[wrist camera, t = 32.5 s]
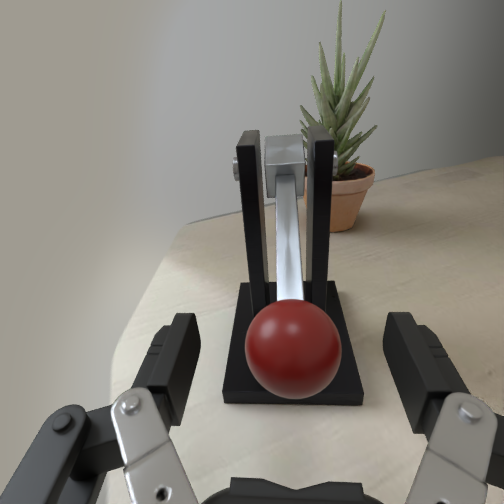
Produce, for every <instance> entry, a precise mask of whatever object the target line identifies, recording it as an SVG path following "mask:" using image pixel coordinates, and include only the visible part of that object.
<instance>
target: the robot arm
mask: <svg viewBox="0 0 504 504" xmlns="http://www.w3.org/2000/svg"><path fill="white" fill-rule="evenodd" d="M200 348H201V340H200V334H199V330H198V325H197V321H196V316H195V314H194V313H177V314H176V315H175V317H174V319H173V322H172V324H171V325H168V326H163V327H162V328H161V329H160V330H159V331H158V332H157V333H156V334H155V336H154V338H153V341H152V343H151V347H149V349H148V352H147V355H146V356H145V358H144V360H143V363H142V365H141V367H140V369H139V372H138V374H137V376H136V378H135V380H134V383H133V385H132V387H131V389H129V390H127V391H125V392H124V393H122V394H121V395H120V396H119V397H118V398H117V399H116V400H115V402H114V403H113V404H112V405H109V406H106V407H103V408H99V409H95V410H92V411H88V412H85V409H84V408H83V407H82V406H80V405H68V406H65V407H62V408H61V409H58V410H57V411H56V412H54V413H53V414H52V415H50V416H49V417H48V419H47V420H46V421H45V422H44V424H43V425H42V427H41V429H40V431H39V432H38V434H37V435H36V437H35V439H34V441H33V442H32V444H31V446H30V447H29V449H28V451H27V452H26V454H25V456H24V457H23V459H22V461H21V462H20V464H19V466H18V468H17V469H16V471H15V473H14V474H13V476H12V478H11V479H10V481H9V483H8V484H7V486H6V488H5V490H4V491H3V493H2V495H1V496H0V504H96V501H97V498H98V496H99V492H100V490H101V487H102V485H103V482H104V479H105V477H106V474H107V472H108V471H111V470H114V469H117V468H120V467H123V466H124V467H125V468H124V469H123V471H124V477H125V481H126V484H127V488H128V492H129V496H130V499H131V503H132V504H199V503H198V501H197V498H196V496H195V494H194V491H193V489H192V487H191V484H190V482H189V480H188V477H187V475H186V473H185V470H184V468H183V466H182V463H181V461H180V459H179V456H178V454H177V452H176V449H175V447H174V445H173V442H172V440H171V439H170V437H169V431H170V427H171V426H180V425H181V421H182V417H183V414H184V410H185V406H186V402H187V399H188V395H189V391H190V388H191V384H192V380H193V376H194V373H195V369H196V365H197V362H198V358H199V354H200ZM383 351H384V355H385V357H386V360H387V363H388V366H389V368H390V371H391V374H392V376H393V379H394V382H395V385H396V387H397V390H398V393H399V395H400V398H401V401H402V404H403V406H404V409H405V412H406V414H407V417H408V420H409V423H410V425H411V428H412V431H413V433H414V434H425V436H426V438H427V441H428V445H427V447H426V450H425V452H424V455H423V458H422V460H421V463H420V466H419V468H418V471H417V473H416V476H415V479H414V481H413V484H412V486H411V489H410V492H409V494H408V497H407V499H406V502H405V504H485V501H486V496H487V490H488V485H487V484H486V483H488V484H491V485H494V486H496V487H499V488H502V489H504V416H501V415H498V414H496V413H494V412H493V411H492V410H491V408H490V407H489V406H488V405H487V404H486V403H484V402H483V401H482V400H480V399H478V398H477V397H475V396H472V395H471V394H470V392H469V390H468V389H467V387H466V385H465V384H464V382H463V380H462V378H461V377H460V375H459V373H458V372H457V370H456V368H455V366H454V365H453V363H452V361H451V360H450V358H448V354H447V353H446V351H445V349H444V348H443V346H442V344H441V343H440V341H439V339H438V337H437V336H436V334H434V333H433V332H432V331H431V330H430V329H429V328H427V327H426V326H425V325H417V324H416V322H415V320H414V318H413V316H412V315H411V313H410V312H389V313H388V316H387V320H386V326H385V331H384V336H383ZM201 504H383V503H382V502H380V501H379V500H377V499H375V498H373V497H371V496H369V495H366V494H364V492H363V487H362V483H352V482H329V481H328V482H325V483H321V484H317V485H313V486H310V487H306V488H302V489H298V490H294V489H290V488H288V487H285V486H282V485H279V484H276V483H273V482H270V481H268V480H265V479H260V478H237V477H231V482H230V488H226V489H223V490H221V491H219V492H217V493H215V494H213V495H212V496H210V497H209V498H207V499H206V500H205V501H204V502H203V503H201Z"/></svg>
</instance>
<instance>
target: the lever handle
mask: <svg viewBox="0 0 504 504" xmlns="http://www.w3.org/2000/svg"><path fill="white" fill-rule="evenodd" d="M305 164H306V163H305V153H304V144H303V136H302V134H294V135H280V136H266V137H265V176H266V189H267V198H276V271H277V301H276V302H274V303H271V304H270V305H268V306H266V307H265V308H263V309H262V310H261V311H260V312H259V313H258V314H257V315H256V316H255V318H254V319H253V321H252V322H251V324H250V326H249V329H248V331H247V335H246V340H245V353H246V360H247V363H248V366H249V368H250V370H251V372H252V374H253V376H254V377H255V379H256V380H257V381H258V382H259V383H260V384H261V385H262V386H263V387H264V388H265V389H267V390H268V391H269V392H271V393H273V394H275V395H277V396H280V397H284V398H288V399H302V398H307V397H310V396H313V395H315V394H317V393H319V392H320V391H322V390H323V389H324V388H326V387H327V386H328V385H329V384H330V382H331V381H332V380H333V378H334V377H335V375H336V373H337V371H338V368H339V366H340V361H341V353H342V348H341V341H340V336H339V333H338V330H337V328H336V326H335V324H334V323H333V321H332V320H331V318H330V317H329V316H328V315H327V314H326V313H325V312H324V311H323V310H322V309H320V308H319V307H317V306H316V305H314V304H312V303H310V302H307V301H304V288H303V275H302V261H301V248H300V234H299V221H298V207H297V197H298V196H304V188H305Z"/></svg>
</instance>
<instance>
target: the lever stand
mask: <svg viewBox="0 0 504 504" xmlns="http://www.w3.org/2000/svg"><path fill="white" fill-rule="evenodd" d="M334 144H335V141H334V139H333V137H332V136H331V135H330V134H329V132H328V131H327V130H326V128H325V127H324V126H323V125H320V126H309V127H308V138H307V229H306V281H303V288H304V301H307V302H310V303H312V304H314V305H316V306H317V307H319V308H320V309H322V310H323V311H324V312H325V313H326V314H327V315H328V316H329V317H330V318H331V320H332V321H333V323H334V324H335V326H336V328H337V330H338V333H339V336H340V341H341V348H342V353H341V361H340V366H339V368H338V371H337V373H336V375H335V377H334V378H333V380H332V381H331V382H330V384H329V385H328V386H327V387H326V388H324V389H323V390H322V391H320V392H319V393H317V394H315V395H313V396H310V397H307V398H302V399H288V398H284V397H280V396H277V395H275V394H273V393H271V392H269V391H268V390H267V389H265V388H264V387H263V386H262V385H261V384H260V383H259V382H258V381H257V380H256V379H255V377H254V376H253V374H252V372H251V370H250V368H249V366H248V363H247V360H246V353H245V340H246V335H247V331H248V329H249V326H250V324H251V322H252V321H253V319H254V318H255V316H256V315H257V314H258V313H259V312H260V311H261V310H262V309H263V308H265V307H266V306H268V305H270V304H271V303H274V302H276V301H277V282H269V277H268V261H267V245H266V229H265V213H264V198H263V182H262V167H261V152H260V151H261V150H260V134H259V130H250V131H244V132H243V134H242V136H241V138H240V140H239V142H238V144H237V146H236V152H237V157H234V158H233V173H234V178H235V180H236V181H239V182H240V192H241V202H242V212H243V222H244V232H245V242H246V252H247V261H248V271H249V281H250V282H247V283H241V284H240V290H239V296H238V301H237V307H236V313H235V319H234V325H233V331H232V337H231V343H230V348H229V354H228V360H227V366H226V372H225V378H224V384H223V390H222V393H223V398H224V403H263V404H321V405H362V403H363V397H364V392H363V388H362V384H361V380H360V376H359V373H358V369H357V365H356V361H355V357H354V354H353V350H352V346H351V342H350V338H349V334H348V331H347V327H346V323H345V319H344V315H343V312H342V308H341V304H340V300H339V296H338V293H337V289H336V285H335V281H327V275H328V257H329V238H330V219H331V200H332V181H333V176H335V175H336V174H337V171H338V154H337V151H334Z"/></svg>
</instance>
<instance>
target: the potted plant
mask: <svg viewBox="0 0 504 504" xmlns="http://www.w3.org/2000/svg"><path fill="white" fill-rule="evenodd" d="M341 12H342V1H341V0H340V4H339V12H338V20H337V33H336V55H335V74H334V89H333V85H332V82H331V79H330V75H329V71H328V68H327V64H326V60H325V56H324V52H323V48H322V46H321V43H320V42H319V60H320V69H321V76H322V83H321V84H320V92H319V90H318V87H317V84H316V82H315V79H314V77H313V76H311V79H312V80H311V82H312V87H313V90H314V95H315V99H316V103H317V107H318V110H319V114H320V117H321V120H322V123H321V122H320V120H319V123H318V122H316V121H315V120H314V119H313V118H312V116H311V115H310V114H309V113H308V112H307V111H306V110H305V109H304V108H303V106H302V105H300V107H301V111H302V113H303V115H304V117H305V119H306V121H307V122H308V124H309V125H310V126H320V125H323V126H324V127H325V128H326V130H327V131H328V132H329V134H330V135H331V136H332V137H333V139H334V141H335V144H334V151H337V154H338V171H337V174H336V175H335V176H333V181H332V200H331V219H330V232H338V231H344V230H347V229H350V228H351V227H352V226H353V224H354V222H355V219H356V217H357V214H358V212H359V209H360V207H361V205H362V202H363V200H364V197H365V195H366V193H367V190H368V189H369V188H370V187H371V186H372V185H373V181H374V176H375V170H374V169H373V168H372V167H370V166H368V165H365V164H361V163H356V161H357V160H358V159H359V156H358V157H357V158H355V159H354V160H352V161H351V162H348V159H349V158H350V157H351V156H352V155H353V153H354V152H355V151H356V150H357V148H358V147H359V145H360V144H361V143H362V142H363V141H364V140H366V138H368V137H369V135H370V134H371V133H372V132H373V131H374V130H375V129H376V127H377V125H375V126H374V127H373V128H372V129H370V130H369V131H368V132H367V133H366V134H364V135H363V136H362V137H360V136H361V134H362V132H360V133H359V134H357V135H356V136H354V137H353V138H351V139H349V140H348V138H349V136H350V133H351V131H352V130H353V128H354V127H355V125H356V123H357V122H358V120H359V118H360V117H361V115H362V113H363V112H364V110H365V108H366V106H367V104H368V102H369V100H370V97H368V98H367V100H366V101H365V102H364V100H365V98H366V96H367V94H368V91H369V89H370V87H371V85H372V82H373V80H374V77H373V78H372V79H371V81H370V82H369V83H368V85H367V86H366V87H365V89H364V90H363V91H362V93H361V94H360V95H359V97H358V98H357V99H356V100H355V101H354V102H351V98H352V96H353V94H354V91H355V89H356V87H357V85H358V83H359V81H360V79H361V76H362V74H363V72H364V70H365V67H366V65H367V63H368V60H369V58H370V55H371V53H372V50H373V48H374V45H375V43H376V40H377V38H378V35H379V33H380V30H381V27H382V24H383V21H384V16H385V12H386V11H384V13H383V14H382V17H381V19H380V21H379V23H378V26H377V28H376V30H375V32H374V34H373V36H372V38H371V40H370V42H369V44H368V46H367V49H366V50H365V53H364V55H363V57H362V59H361V61H360V63H359V65H358V61H359V57H357V59H356V62H355V64H354V67H353V69H352V72H351V75H350V77H349V80H348V82H347V85H346V88H345V53H344V54H343V58H342V63H341V34H342V33H341V32H342V31H341V17H342V13H341ZM344 89H345V90H344ZM363 102H364V103H363ZM362 103H363V104H362ZM361 105H362V106H361ZM300 123H301V125H302V126H303V128H304V130H305V131H306V132H305V131H304V130H303V129H301V132H302V133H303V135H304V136H305V137H306V138H308V128H307V127H306V126H305V125H304V123H303V122H302V121H301V120H300ZM359 137H360V138H359ZM303 144H304V147H305V148H306V149H307V142H305V141H304V140H303ZM305 160H306V161H307V159H306V158H305ZM303 197H304V201H305V205H306V208H307V165H305V188H304V196H303Z"/></svg>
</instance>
